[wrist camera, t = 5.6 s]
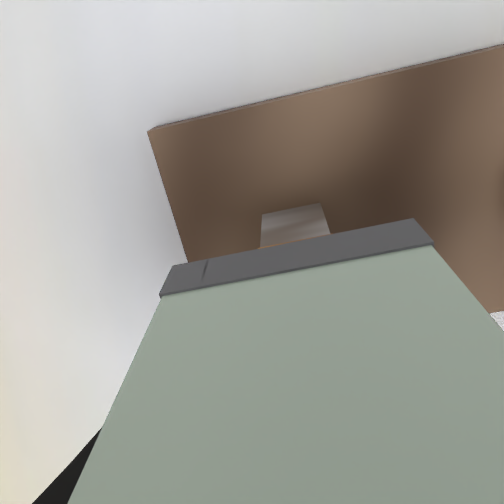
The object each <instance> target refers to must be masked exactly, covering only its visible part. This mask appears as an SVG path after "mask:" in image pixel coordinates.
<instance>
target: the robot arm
mask: <svg viewBox="0 0 504 504" xmlns="http://www.w3.org/2000/svg"><path fill="white" fill-rule="evenodd" d="M101 429H102V428H101ZM101 429H100V430H99V431H98V432H97V434H96V435H95V436H94V437H93V438H92V439H91V440H90V441H89V443H88V444H87V445H86V446H85V447H84V448H83V449H82V451H81V452H80V453H79V454H78V455H77V456H76V457H75V459H74V460H73V461H72V462H71V463H70V464H69V465H68V466H67V467H66V468H65V469H64V471H63V472H62V473H61V474H60V475H59V476H58V477H57V478H56V479H55V480H54V481H53V482H52V483H51V484H50V485H49V486H48V487H47V488H46V490H45V491H44V492H43V493H42V494H41V495H40V496H39V497H38V498H37V499H36V500H35V501H34V502H33V503H32V504H68V501H69V499H70V497H71V495H72V493H73V490H74V488H75V486H76V484H77V482H78V480H79V477H80V475H81V473H82V471H83V469H84V466H85V464H86V462H87V460H88V458H89V455H90V453H91V451H92V449H93V447H94V445H95V442H96V440H97V438H98V436H99V434H100V431H101Z"/></svg>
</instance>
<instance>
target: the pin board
mask: <svg viewBox="0 0 504 504" xmlns="http://www.w3.org/2000/svg"><path fill="white" fill-rule="evenodd" d="M147 133H148V137H149V140H150V143H151V146H152V149H153V152H154V156H155V159H156V162H157V165H158V168H159V171H160V175H161V178H162V181H163V184H164V187H165V190H166V194H167V197H168V200H169V203H170V206H171V209H172V213H173V216H174V219H175V222H176V225H177V229H178V232H179V235H180V238H181V241H182V244H183V248H184V251H185V254H186V257H187V260H188V263H190V262H195V261H200V260H205V259H210V258H215V257H220V256H225V255H230V254H235V253H240V252H245V251H250V250H255V249H260V248H265V247H270V246H275V245H280V244H285V243H290V242H295V241H300V240H305V239H310V238H315V237H320V236H325V235H330V234H335V233H340V232H345V231H350V230H355V229H360V228H365V227H370V226H376V225H381V224H386V223H391V222H396V221H401V220H406V219H411V218H414V219H415V220H416V221H417V223H418V224H419V225H420V226H421V227H422V228H423V230H424V231H425V232H426V233H427V234H428V235H429V236H430V238H431V239H432V240H433V241H434V247H435V250H436V251H437V252H438V254H439V255H440V256H441V257H442V258H443V260H444V261H445V262H446V263H447V264H448V266H449V267H450V268H451V269H452V270H453V271H454V273H455V274H456V275H457V276H458V277H459V279H460V280H461V281H462V282H463V283H464V285H465V286H466V287H467V288H468V289H469V291H470V292H471V293H472V294H473V295H474V297H475V298H476V299H477V300H478V301H479V302H480V304H481V305H482V306H483V307H484V308H485V310H486V311H487V312H488V313H494V312H500V311H504V44H501V45H497V46H493V47H489V48H485V49H480V50H476V51H472V52H468V53H464V54H460V55H455V56H451V57H447V58H443V59H439V60H434V61H430V62H426V63H422V64H418V65H413V66H409V67H405V68H401V69H397V70H392V71H388V72H384V73H380V74H376V75H371V76H367V77H363V78H359V79H355V80H350V81H346V82H342V83H338V84H334V85H329V86H325V87H321V88H317V89H313V90H308V91H304V92H300V93H296V94H292V95H287V96H283V97H279V98H275V99H271V100H266V101H262V102H258V103H254V104H250V105H245V106H241V107H237V108H233V109H229V110H224V111H220V112H216V113H212V114H208V115H203V116H199V117H195V118H191V119H187V120H182V121H178V122H174V123H170V124H166V125H161V126H157V127H154V128H152V129H151V130H149V131H147Z"/></svg>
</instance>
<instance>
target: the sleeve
mask: <svg viewBox="0 0 504 504" xmlns="http://www.w3.org/2000/svg"><path fill="white" fill-rule="evenodd" d="M159 296H160V298H161V300H160V302H159V305H158V307H157V309H156V311H155V313H154V316H153V318H152V320H151V322H150V324H149V327H148V329H147V331H146V333H145V335H144V337H143V340H142V342H141V344H140V346H139V348H138V351H137V353H136V355H135V357H134V359H133V361H132V364H131V366H130V368H129V370H128V372H127V375H126V377H125V379H124V381H123V383H122V386H121V388H120V390H119V392H118V394H117V396H116V399H115V401H114V403H113V405H112V407H111V410H110V412H109V414H108V416H107V418H106V420H105V423H104V425H103V427H102V429H101V431H100V434H99V436H98V438H97V440H96V442H95V445H94V447H93V449H92V451H91V453H90V455H89V458H88V460H87V462H86V464H85V466H84V469H83V471H82V473H81V475H80V477H79V480H78V482H77V484H76V486H75V488H74V490H73V493H72V495H71V497H70V499H69V501H68V504H504V331H503V330H502V329H501V328H500V326H499V325H498V324H497V323H496V322H495V320H494V319H493V318H492V317H491V316H490V314H489V313H488V312H487V311H486V310H485V308H484V307H483V306H482V305H481V304H480V302H479V301H478V300H477V299H476V298H475V297H474V295H473V294H472V293H471V292H470V291H469V289H468V288H467V287H466V286H465V285H464V283H463V282H462V281H461V280H460V279H459V277H458V276H457V275H456V274H455V273H454V271H453V270H452V269H451V268H450V267H449V266H448V264H447V263H446V262H445V261H444V260H443V258H442V257H441V256H440V255H439V254H438V252H437V251H436V250H435V247H434V241H433V240H432V239H431V238H430V236H429V235H428V234H427V233H426V232H425V231H424V230H423V228H422V227H421V226H420V225H419V224H418V223H417V221H416V220H415V219H414V218H411V219H406V220H401V221H396V222H391V223H386V224H381V225H376V226H370V227H365V228H360V229H355V230H350V231H345V232H340V233H335V234H330V235H325V236H320V237H315V238H310V239H305V240H300V241H295V242H290V243H285V244H280V245H275V246H270V247H265V248H260V249H255V250H250V251H245V252H240V253H235V254H230V255H225V256H220V257H215V258H210V259H205V260H200V261H195V262H190V263H184V264H179V265H174V266H172V268H171V270H170V272H169V274H168V276H167V278H166V281H165V283H164V285H163V287H162V289H161V291H160V293H159Z"/></svg>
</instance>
